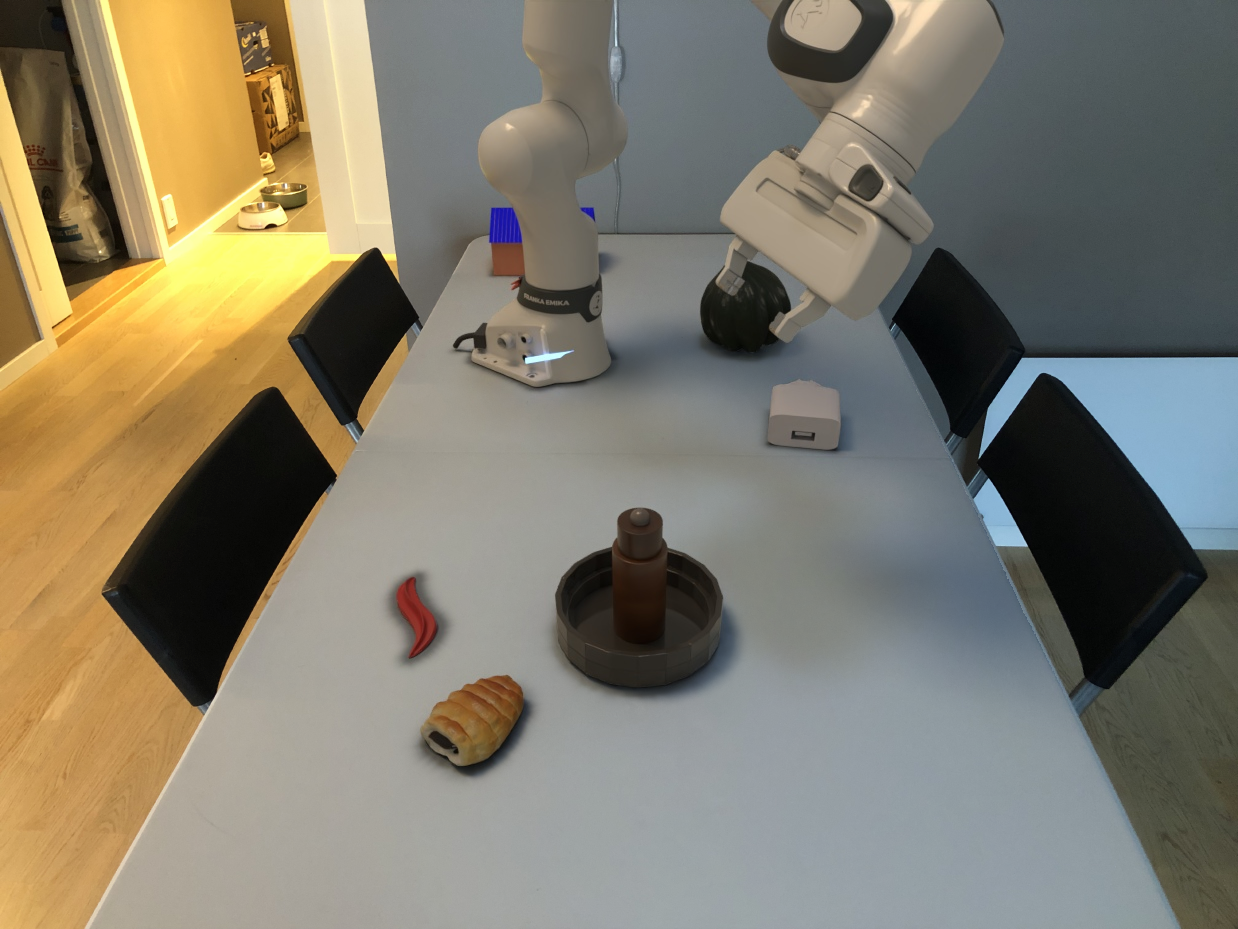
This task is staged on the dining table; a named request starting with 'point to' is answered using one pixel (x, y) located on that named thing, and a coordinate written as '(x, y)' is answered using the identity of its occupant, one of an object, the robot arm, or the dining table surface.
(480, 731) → the pastry
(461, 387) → the dining table surface
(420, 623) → the cayenne pepper
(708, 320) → the squash
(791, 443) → the charger
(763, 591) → the dining table surface
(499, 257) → the house
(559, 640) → the pan
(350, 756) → the dining table surface
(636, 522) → the pepper mill
